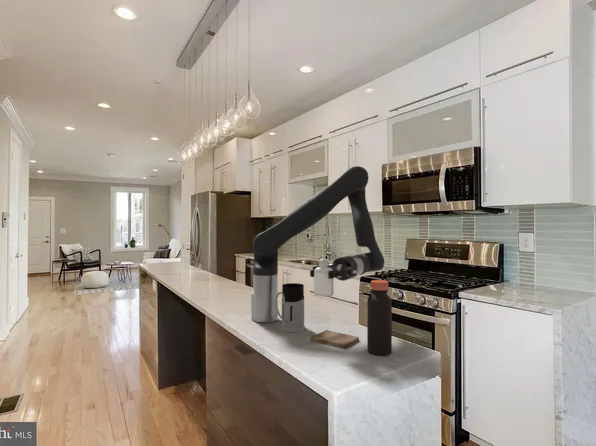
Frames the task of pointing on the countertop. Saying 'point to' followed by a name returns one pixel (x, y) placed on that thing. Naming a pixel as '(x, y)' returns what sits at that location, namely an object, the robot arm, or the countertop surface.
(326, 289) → the eye dropper bottle
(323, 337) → the walnut board
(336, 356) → the countertop surface
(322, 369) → the countertop surface
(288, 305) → the glass holder
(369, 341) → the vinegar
